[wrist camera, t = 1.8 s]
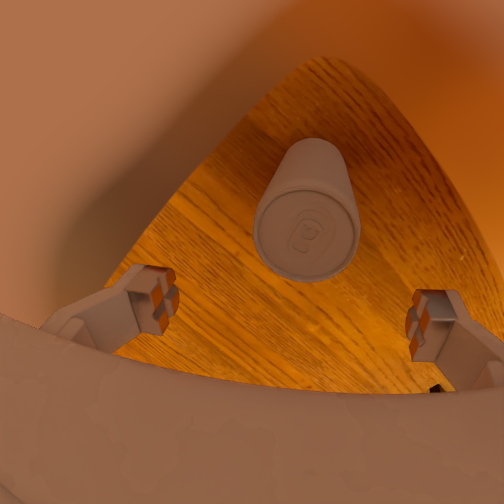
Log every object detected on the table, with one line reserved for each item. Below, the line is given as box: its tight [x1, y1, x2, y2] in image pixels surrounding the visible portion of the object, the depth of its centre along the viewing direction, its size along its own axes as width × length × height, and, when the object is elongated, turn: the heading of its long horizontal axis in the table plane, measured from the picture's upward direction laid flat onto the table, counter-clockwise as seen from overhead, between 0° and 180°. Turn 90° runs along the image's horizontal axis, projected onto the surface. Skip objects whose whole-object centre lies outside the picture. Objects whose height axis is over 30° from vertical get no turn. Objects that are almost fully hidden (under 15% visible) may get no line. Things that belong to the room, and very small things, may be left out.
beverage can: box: [253, 138, 361, 283], centre depth 18 cm, size 5×5×12 cm
